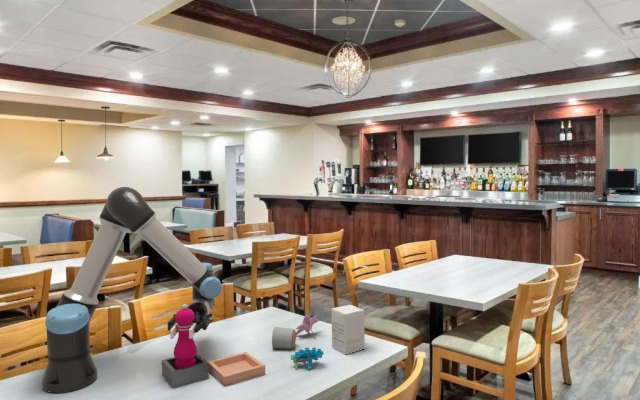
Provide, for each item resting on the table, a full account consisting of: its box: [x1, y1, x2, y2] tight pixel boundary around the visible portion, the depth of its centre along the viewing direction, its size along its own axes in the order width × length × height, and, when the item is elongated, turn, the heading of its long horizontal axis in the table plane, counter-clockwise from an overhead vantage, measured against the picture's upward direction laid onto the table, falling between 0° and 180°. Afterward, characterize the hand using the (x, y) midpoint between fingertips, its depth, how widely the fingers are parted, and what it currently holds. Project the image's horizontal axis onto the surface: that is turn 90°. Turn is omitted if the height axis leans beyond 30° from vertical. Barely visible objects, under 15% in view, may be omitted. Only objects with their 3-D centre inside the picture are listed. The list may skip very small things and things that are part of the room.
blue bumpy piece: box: [290, 346, 325, 371], centre depth 151 cm, size 11×6×10 cm
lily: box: [295, 314, 321, 339], centre depth 180 cm, size 12×12×10 cm
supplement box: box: [331, 304, 366, 355], centre depth 166 cm, size 9×9×15 cm
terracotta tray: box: [207, 351, 266, 387], centre depth 148 cm, size 14×14×3 cm
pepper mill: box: [173, 303, 198, 369], centre depth 144 cm, size 7×7×20 cm
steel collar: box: [161, 352, 210, 389], centre depth 145 cm, size 11×11×5 cm
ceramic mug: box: [271, 326, 297, 350], centre depth 170 cm, size 11×8×8 cm
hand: (180, 334), depth 139 cm, fingers closed on pepper mill, 5 cm apart
